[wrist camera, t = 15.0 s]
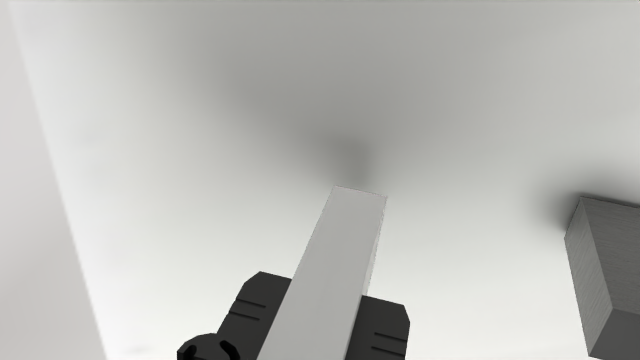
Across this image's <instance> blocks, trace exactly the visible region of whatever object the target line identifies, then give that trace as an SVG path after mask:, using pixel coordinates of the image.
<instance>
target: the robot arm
mask: <svg viewBox="0 0 640 360" xmlns="http://www.w3.org/2000/svg"><path fill="white" fill-rule="evenodd" d="M386 199H387V196H382V195H377V194H373V193H368V192H363V191H359V190H354V189H349V188H345V187H340V186H335V185H334V187H333V189H332V191H331V193H330V196H329V198H328V200H327V202H326V205H325V207H324V209H323V211H322V214H321V216H320V218H319V220H318V223H317V225H316V227H315V229H314V232H313V234H312V236H311V238H310V241H309V243H308V245H307V247H306V250H305V252H304V254H303V256H302V259H301V261H300V263H299V265H298V268H297V270H296V272H295V274H294V277H293V279H290V278H285V277H281V276H277V275H273V274H269V273H265V272H261V271H260V272H258V273H257V274H256V275H254V276H253V277H252V278H250V279H249V280H248V281H246V282H245V283H244V284H243V286H242V288H241V290H240V292H239V293H238V295H237V297H236V300H235V301H234V303H233V304H232V306H231V308H230V310H229V313H228V314H227V315H226V317H225V319H224V321H223V322H222V324H221V326H220V328H219V330H218V331H217V333H216V334H215V333H209V334H204V335H198V336H196V337H194V338H192V339H190V340H188V341H186V342H185V343H184V344H183V345H182V346H181V347H180V348H179V350H178V351H177V360H405V355H406V348H407V341H408V335H409V328H410V321H409V318H408V315H407V313H406V310H405V307H404V305H401V304H397V303H393V302H389V301H385V300H381V299H377V298H373V297H369V296H366V295H367V291H368V287H369V283H370V279H371V276H372V271H373V266H374V261H375V256H376V251H377V246H378V240H379V235H380V230H381V225H382V220H383V214H384V209H385V204H386Z"/></svg>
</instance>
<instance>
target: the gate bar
mask: <svg viewBox="0 0 640 360" xmlns="http://www.w3.org/2000/svg"><path fill="white" fill-rule="evenodd" d="M564 240H565V245H566V250H567V255H568V260H569V264H570V269H571V274H572V279H573V284H574V288H575V293H576V298H577V303H578V308H579V312H580V317H581V322H582V327H583V332H584V336H585V341H586V346H587V351H588V356H590V357H594V358H598V359H602V360H640V208H635V207H630V206H625V205H620V204H616V203H611V202H606V201H601V200H596V199H591V198H587V197H582V196H581V198H580V201H579V203H578V205H577V208H576V210H575V213H574V215H573V218H572V220H571V223H570V225H569V227H568V230H567V232H566V235H565V237H564Z"/></svg>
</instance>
